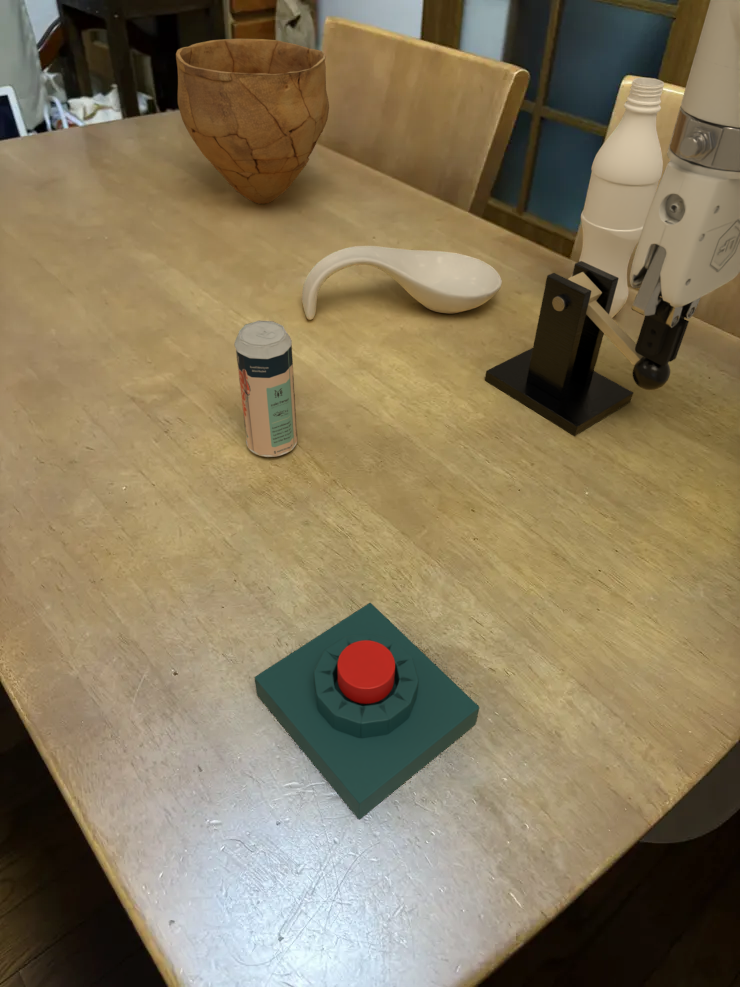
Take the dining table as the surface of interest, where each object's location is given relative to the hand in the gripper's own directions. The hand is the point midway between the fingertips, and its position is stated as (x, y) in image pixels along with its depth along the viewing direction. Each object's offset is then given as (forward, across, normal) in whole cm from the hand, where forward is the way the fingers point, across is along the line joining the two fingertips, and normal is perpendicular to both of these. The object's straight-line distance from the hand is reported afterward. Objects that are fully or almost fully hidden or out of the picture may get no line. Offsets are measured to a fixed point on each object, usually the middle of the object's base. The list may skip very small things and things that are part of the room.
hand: (654, 355), depth 67 cm
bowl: (+10, +3, +68) cm, 69 cm away
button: (+5, -39, -7) cm, 40 cm away
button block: (+9, -39, -7) cm, 41 cm away
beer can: (+9, -28, +20) cm, 36 cm away
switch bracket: (+9, 0, +9) cm, 13 cm away
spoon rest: (+9, -1, +32) cm, 33 cm away
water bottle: (+9, +16, +17) cm, 25 cm away
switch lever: (+1, 0, +5) cm, 5 cm away
